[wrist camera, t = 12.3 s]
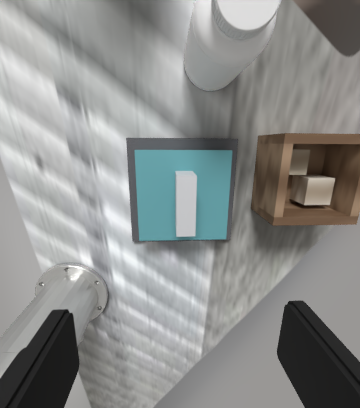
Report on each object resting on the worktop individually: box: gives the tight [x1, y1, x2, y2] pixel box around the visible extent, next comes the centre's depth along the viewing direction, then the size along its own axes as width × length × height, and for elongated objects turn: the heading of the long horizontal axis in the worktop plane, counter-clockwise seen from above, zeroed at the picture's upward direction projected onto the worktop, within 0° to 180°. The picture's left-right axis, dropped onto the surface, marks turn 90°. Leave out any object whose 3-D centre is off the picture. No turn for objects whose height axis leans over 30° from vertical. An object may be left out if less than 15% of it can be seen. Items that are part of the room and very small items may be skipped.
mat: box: [126, 138, 238, 241], centre depth 35 cm, size 17×17×1 cm
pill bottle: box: [184, 0, 281, 91], centre depth 23 cm, size 8×8×15 cm
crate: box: [251, 133, 360, 226], centre depth 31 cm, size 12×12×8 cm
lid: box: [135, 150, 232, 241], centre depth 31 cm, size 14×14×8 cm
